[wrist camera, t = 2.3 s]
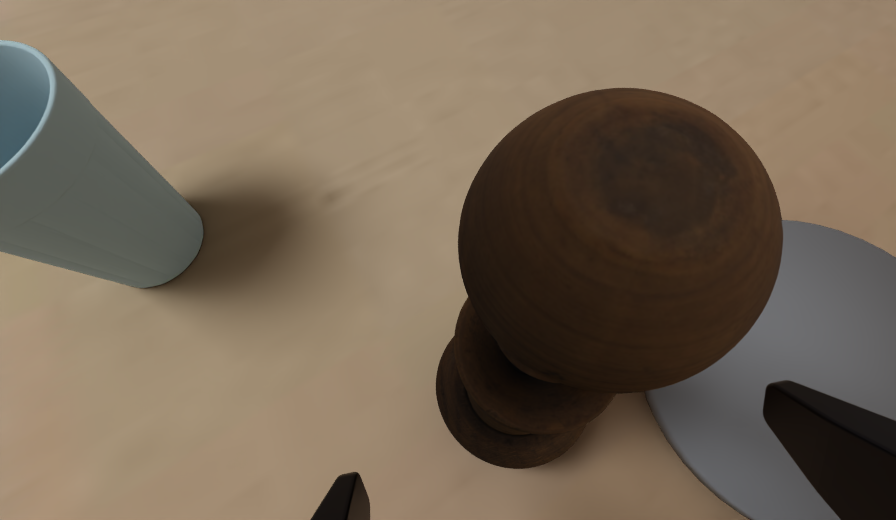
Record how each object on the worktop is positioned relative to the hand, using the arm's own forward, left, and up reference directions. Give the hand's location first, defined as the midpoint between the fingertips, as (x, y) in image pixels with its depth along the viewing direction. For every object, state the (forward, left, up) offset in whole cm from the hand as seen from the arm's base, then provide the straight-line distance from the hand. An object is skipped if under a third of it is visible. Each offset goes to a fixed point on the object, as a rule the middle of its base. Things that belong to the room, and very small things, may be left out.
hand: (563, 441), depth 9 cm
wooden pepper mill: (+2, -1, -11) cm, 11 cm away
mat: (-3, -13, -11) cm, 17 cm away
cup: (+18, +13, -11) cm, 25 cm away
